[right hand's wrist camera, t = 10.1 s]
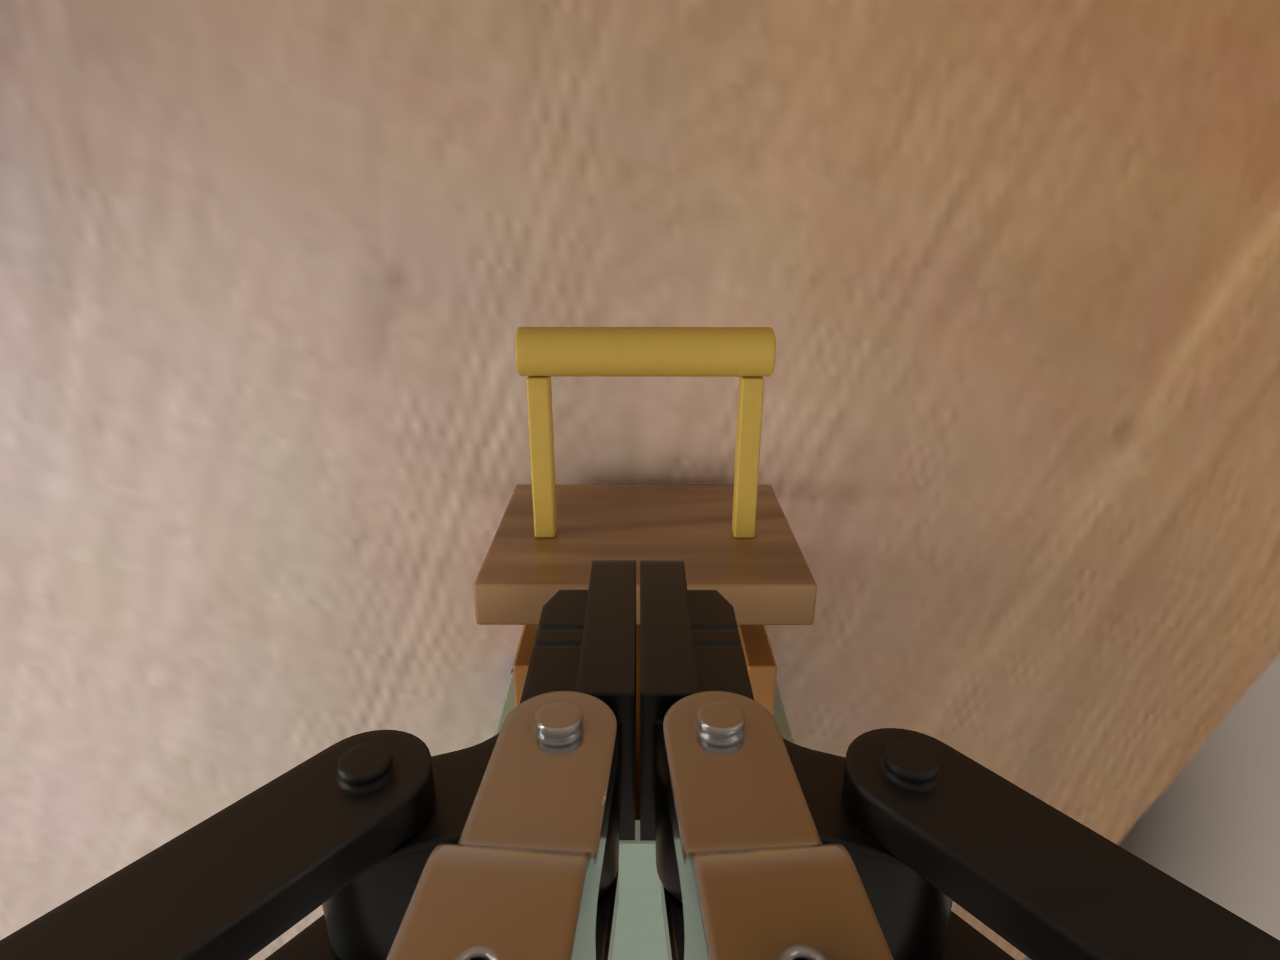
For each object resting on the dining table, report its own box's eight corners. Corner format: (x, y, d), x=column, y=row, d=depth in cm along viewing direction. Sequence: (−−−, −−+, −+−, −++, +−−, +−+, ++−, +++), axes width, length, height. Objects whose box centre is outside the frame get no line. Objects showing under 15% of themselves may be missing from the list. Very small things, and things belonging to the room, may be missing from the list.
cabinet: (515, 656, 29) (464, 843, 20) (770, 656, 29) (824, 844, 20) (540, 1019, 36) (509, 1268, 28) (743, 1019, 36) (774, 1268, 28)
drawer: (505, 306, 23) (451, 348, 17) (783, 306, 23) (841, 349, 17) (542, 905, 32) (516, 1088, 26) (742, 905, 32) (769, 1088, 26)
